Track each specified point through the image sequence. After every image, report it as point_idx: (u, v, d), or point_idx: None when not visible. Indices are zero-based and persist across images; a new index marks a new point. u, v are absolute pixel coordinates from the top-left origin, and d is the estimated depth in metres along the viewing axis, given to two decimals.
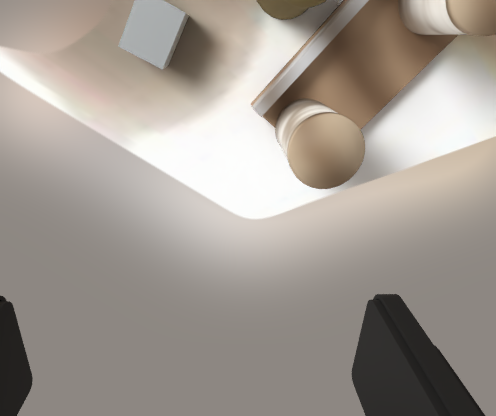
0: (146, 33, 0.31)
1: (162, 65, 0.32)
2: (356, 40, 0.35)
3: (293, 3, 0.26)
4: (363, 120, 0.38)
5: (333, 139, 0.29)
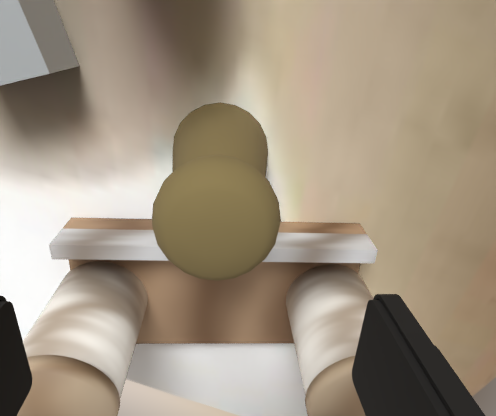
0: None
1: None
2: None
3: None
4: (173, 338, 0.28)
5: (71, 410, 0.18)
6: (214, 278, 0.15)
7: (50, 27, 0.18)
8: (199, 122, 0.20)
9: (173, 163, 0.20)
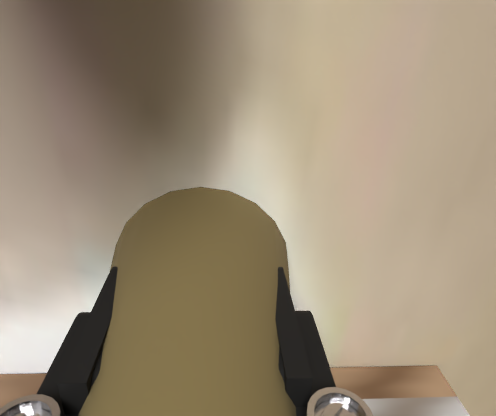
0: None
1: None
2: None
3: None
4: None
5: None
6: None
7: None
8: (152, 245, 0.10)
9: None
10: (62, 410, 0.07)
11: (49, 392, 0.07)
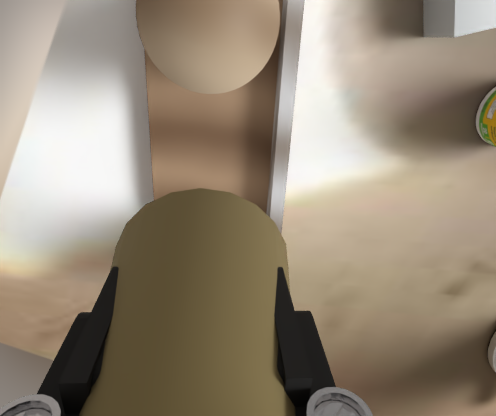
0: None
1: None
2: (243, 159, 0.28)
3: None
4: (154, 97, 0.26)
5: (219, 48, 0.16)
6: None
7: None
8: (153, 246, 0.10)
9: None
10: (62, 410, 0.07)
11: (49, 392, 0.07)
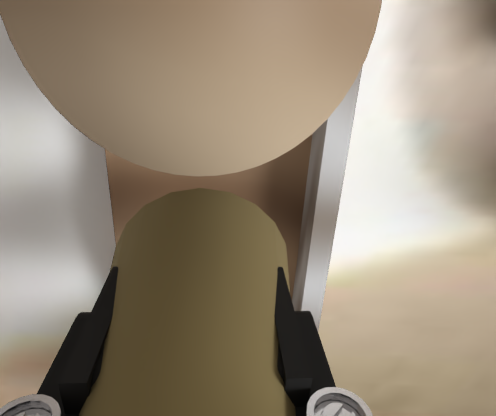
0: None
1: None
2: None
3: None
4: None
5: (222, 68, 0.06)
6: None
7: None
8: (153, 246, 0.10)
9: None
10: (62, 410, 0.07)
11: (49, 392, 0.07)
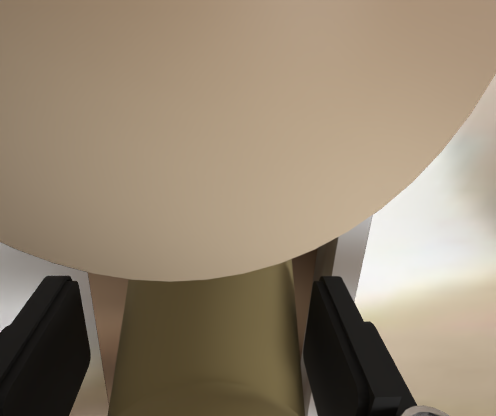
0: None
1: None
2: None
3: None
4: None
5: (215, 93, 0.03)
6: None
7: None
8: None
9: (125, 301, 0.10)
10: None
11: None
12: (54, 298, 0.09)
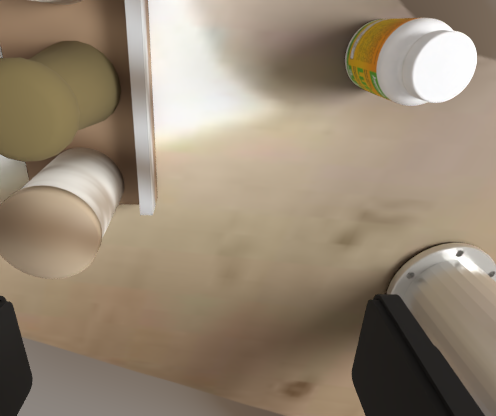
0: None
1: None
2: None
3: None
4: (4, 28, 0.25)
5: None
6: (15, 156, 0.19)
7: None
8: (46, 49, 0.24)
9: None
10: None
11: None
12: None
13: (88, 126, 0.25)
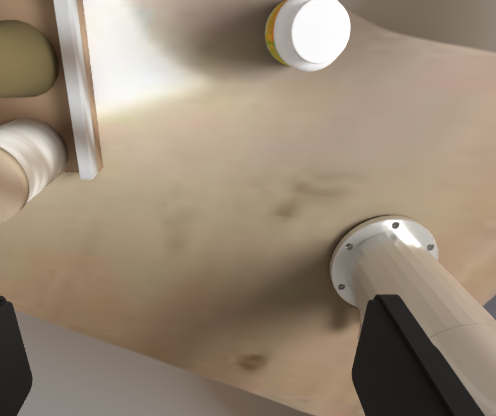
0: None
1: None
2: None
3: None
4: None
5: None
6: None
7: None
8: None
9: None
10: None
11: None
12: None
13: (23, 93, 0.29)
